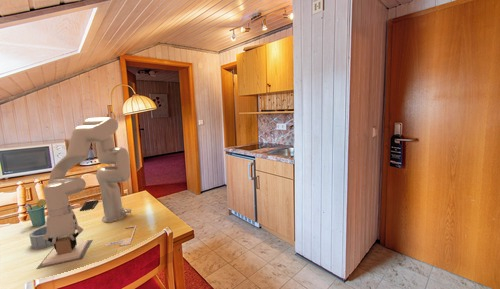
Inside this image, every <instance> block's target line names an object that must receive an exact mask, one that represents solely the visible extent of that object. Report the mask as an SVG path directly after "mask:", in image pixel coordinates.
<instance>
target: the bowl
mask: <svg viewBox="0 0 500 289" xmlns="http://www.w3.org/2000/svg"><path fill="white" fill-rule="evenodd" d="M46 232H47V228H46V225H43V226H40V227H37V228H36V229H34V230H33V231H30V233H29V240H30V244H31V248H32V249H36V250H38V249H44V248H47V247H50V246H54V244H52V242H50V241H48V240H45V239H43V236H44V235H45V234H46ZM61 237H62V236H61ZM59 238H60V237H58V239H59Z"/></svg>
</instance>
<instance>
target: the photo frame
mask: <svg viewBox="0 0 500 289" xmlns="http://www.w3.org/2000/svg"><path fill="white" fill-rule="evenodd" d="M130 228H133V231H132V233H131V236H130V237H128V238H124V239H121V240H116V241H113V242H106V243H105V245H104V247H109V246H115V245H118V244H119V246H118V247H125V246H129V245H131V243H132V240H133V238H134V234H135V231H136V229H137V225H131V226H127V227H125V229H130Z"/></svg>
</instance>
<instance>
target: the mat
mask: <svg viewBox="0 0 500 289" xmlns="http://www.w3.org/2000/svg"><path fill="white" fill-rule="evenodd" d="M88 241H89V242H88V244H87V246H86V247H85V249H84V251H83V253H82V254H81V256H80V258H77V259H72V260H67V261H63V262H58V263H54V264H49V265H45V266H42V263H43V261H44V260H45V259H46V258H47V256H48V255H49V254H50V253H51V251H52V250H53V249H54V247H53V248H52V249H51V250H50V252H49V253H48V254H47V255H46V257H44V259H43V260H42V261H41V263H39V265H38V266H37V267H36V270H40V269H43V268H50V267H52V266H58V265H63V264H65V263H72V262H76V261H80V260H83V259H84V257H85V255H86V253H87V251H88V249H89V248H90V246H91V244H92V243H93V241H94V239H90V240H89V239H88Z"/></svg>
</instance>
